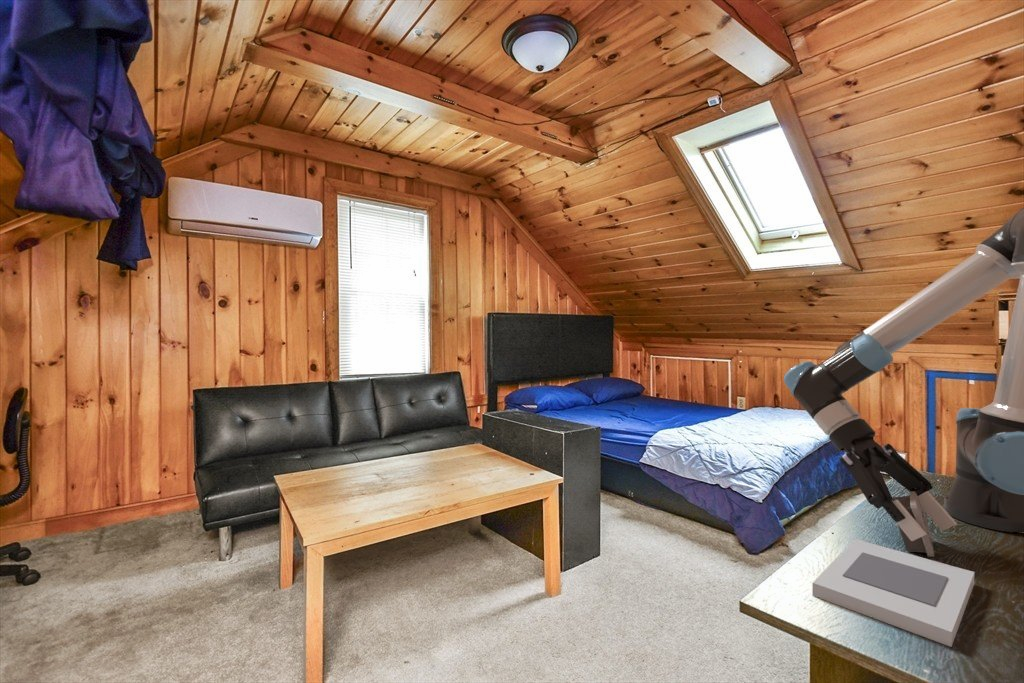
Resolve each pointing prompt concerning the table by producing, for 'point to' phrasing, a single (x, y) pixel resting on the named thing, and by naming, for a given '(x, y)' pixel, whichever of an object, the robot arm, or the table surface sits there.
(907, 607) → the mounting board
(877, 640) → the table surface
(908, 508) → the electrical switch
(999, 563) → the table surface
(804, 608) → the table surface
